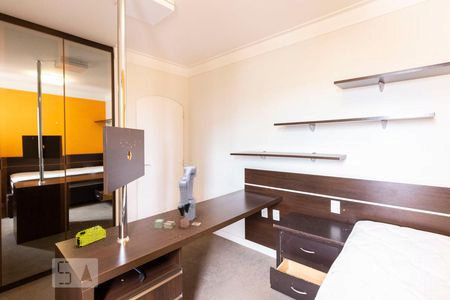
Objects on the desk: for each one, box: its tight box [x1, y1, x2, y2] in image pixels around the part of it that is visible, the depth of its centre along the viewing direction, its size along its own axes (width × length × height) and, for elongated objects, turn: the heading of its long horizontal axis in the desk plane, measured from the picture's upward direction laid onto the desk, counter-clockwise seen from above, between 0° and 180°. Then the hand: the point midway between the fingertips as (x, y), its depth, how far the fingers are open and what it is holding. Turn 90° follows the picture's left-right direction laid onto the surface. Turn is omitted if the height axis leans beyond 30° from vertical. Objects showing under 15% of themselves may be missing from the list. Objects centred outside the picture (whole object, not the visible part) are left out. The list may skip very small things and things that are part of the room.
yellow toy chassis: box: [75, 225, 107, 247], centre depth 142 cm, size 16×6×8 cm, turn 149°
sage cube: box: [154, 218, 165, 229], centre depth 165 cm, size 5×5×5 cm
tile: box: [191, 221, 201, 227], centre depth 170 cm, size 5×6×1 cm
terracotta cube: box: [180, 218, 190, 229], centre depth 166 cm, size 5×5×5 cm
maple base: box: [163, 220, 176, 230], centre depth 165 cm, size 6×6×4 cm
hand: (184, 214), depth 165 cm, fingers open, 7 cm apart
